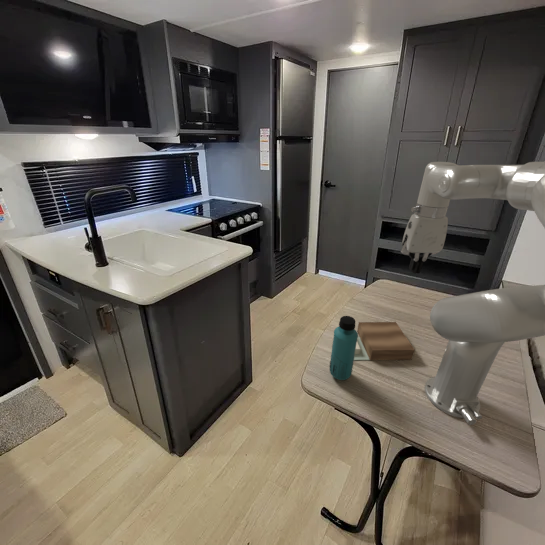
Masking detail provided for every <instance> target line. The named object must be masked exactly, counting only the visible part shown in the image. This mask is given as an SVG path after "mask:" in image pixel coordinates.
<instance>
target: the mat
mask: <svg viewBox="0 0 545 545" xmlns="http://www.w3.org/2000/svg"><path fill="white" fill-rule="evenodd" d="M357 342H358V344H359V347H360V354H355V355H354V358H355V359H354V361H371V360H370V359H369V356H368V354H367V352H366V350H365V348H364V345H363V343H362V341H361V339H360V337H359V335H358V338H357Z"/></svg>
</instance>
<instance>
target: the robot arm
mask: <svg viewBox="0 0 545 545" xmlns="http://www.w3.org/2000/svg"><path fill="white" fill-rule="evenodd" d="M467 199H495V200H501V201H502V200H503V201H508V203H509V205H510V206H511V207H513V208H514V209H517V210H522V211H530V212H534V213H535V216H536V217H537V219H538V221H539V222H540V224H541V226H543V228H544V229H545V161H529V162H527V163H525V164H467V165H465V164H464V165H462V164H461V165H458V164H457V163H454V162H449V161H431V162H429V163H428V164H427V165H426V166H425V168H424V173H423V177H422V182H421V185H420V189H419V193H418V197H417V202H416V204H415V206H412V207H411V208H410V211H411V212H412V213H413V214H411V216H410V218H409V220H408V222H407V224H406V227H405V230H404V234H403V237H402V242H401V246H402V248H401V250H400V253H401V254H403V255H405V256H409V258H410V262H409V266H408V270H409V272H411V273H413V274H414V275H415V274H421V271H422V269H423V265H424V262H426V261H427V259H428V258H429V257H430V256H432V255H436V254H439V253H440V252H442V250H443V248H444V245H445V241H446V237H447V233H448V225H449V224H448V223H449V222H448V221H449V218H448V216H447V212H448V209H449V205H450V202H451V200H467ZM429 319H430V320H429V321H430V324H431V326H432V328H433V330H434V331H435V332H436V333H437V334H438V335H439V336H441V337H442V338H443V339H445V340H448V342H447V344H446V347H445V349H444V353H443V355H442V359H441V361H440V364H439V366H438V369H437V372H436V375H435V376H433V377H430V378H429V379H427V380H426V383H425V385H424V392H425V395H426V396H427V399H428V400H429V401H430V402H431V404H432V405H434V406H435V407H436V408H437V409H439V410H440V411H442V412H444V413H445V414H447V415H450V416H452V417H456V418H459V419H464V420H465V422H466V423H467V424H468V426H473V425H475V424H476V423H477V420H481V419H482V418H483V416H482V414H481V413H480V412H479V411H480V409H481V403H480V400H479V397H478V395H479V393H480V391H481V389H482V388H483V384H484V383H485V380H486V378H487V377H488V374H489V372H490V370H491V367H492V366H493V364H494V362H495V360H496V358H497V356H498V354H499V352H500V350H501V348H502V347H503V345H504V344H505V343H508V342H509V343H512V342H517V341H523V340H530V339H533V338H534V339H535V338H540V337H545V284H539V285H519V286H510V287H509V286H508V287H502V288H495V289H489V290H488V289H487V290H481V291H476V292H470V293H464V294H460V295H453V296H449V297H444V298H440V299H439V300H438V301H437V302H435V304H434V305H433V306H432V308H431V310H430V314H429Z"/></svg>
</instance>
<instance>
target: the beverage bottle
mask: <svg viewBox="0 0 545 545" xmlns="http://www.w3.org/2000/svg"><path fill="white" fill-rule="evenodd" d="M338 322H339V323H338V326H337V327H336V328H335V329H334V331H333V339H332V345H331V354H330V361H329V367H328V368H329V373H330V375H331V376H332V377H333V378H335V379H336V380H338V381H339V380H341V381H344V380H348V379H349V378H350V377H352V373H353V368H354V362H355V360H354V359H355V358H354V355H355V349H356V343H357V338H358V336H359V334H358V332H357V330H356V320H355V318H354V317H352V316H349V315H342V316H341V317H340V319H339V321H338Z"/></svg>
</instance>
